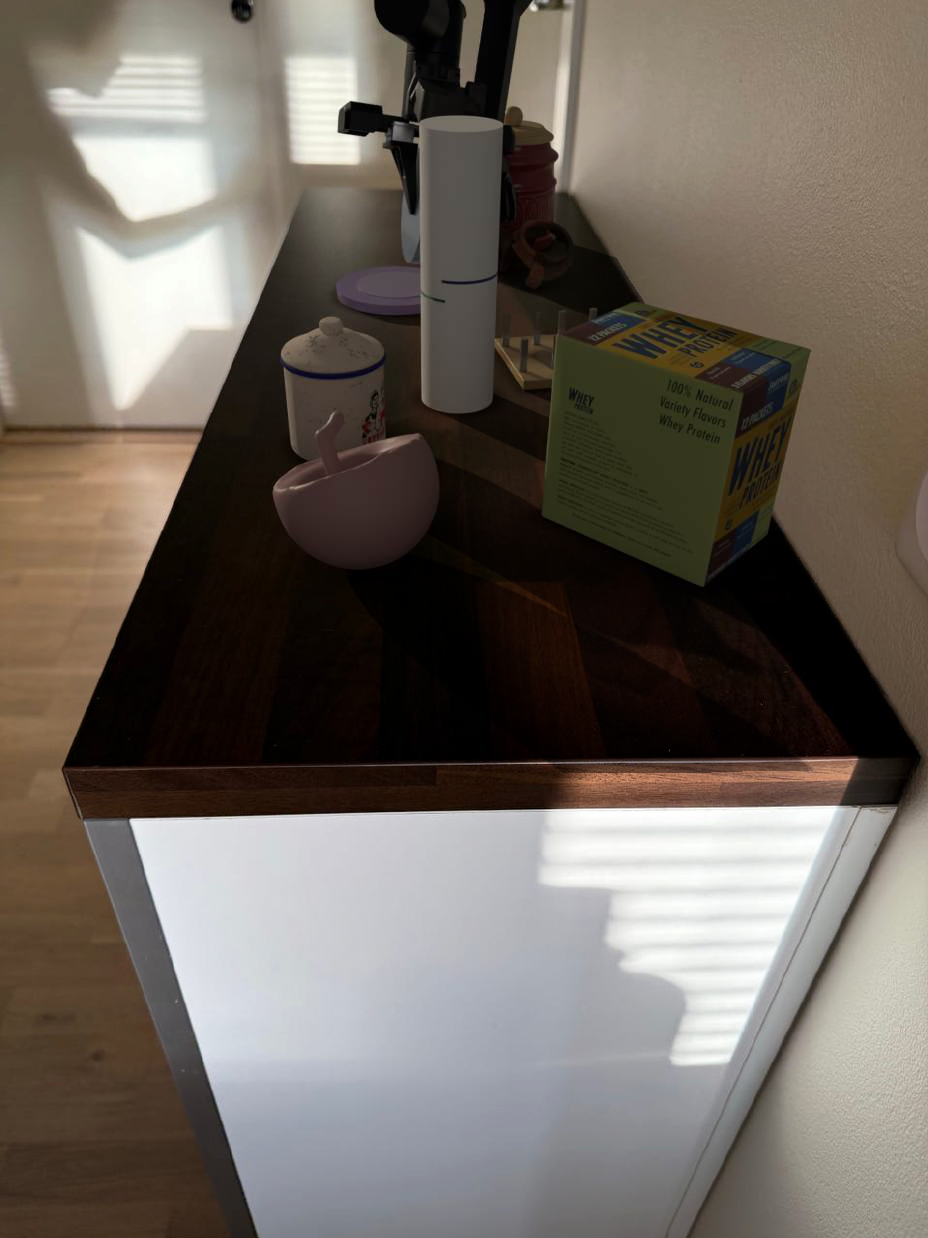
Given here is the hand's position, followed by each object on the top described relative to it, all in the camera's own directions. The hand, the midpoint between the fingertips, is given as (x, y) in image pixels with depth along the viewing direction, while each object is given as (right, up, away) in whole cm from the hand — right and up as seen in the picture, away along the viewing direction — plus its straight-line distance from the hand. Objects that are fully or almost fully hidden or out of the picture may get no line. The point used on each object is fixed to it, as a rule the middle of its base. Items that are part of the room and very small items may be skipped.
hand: (419, 215), depth 109 cm
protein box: (+20, -38, -30) cm, 52 cm away
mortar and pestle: (-3, -40, -34) cm, 53 cm away
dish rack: (+15, -18, -4) cm, 23 cm away
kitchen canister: (+11, +9, +33) cm, 36 cm away
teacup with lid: (-6, -28, -18) cm, 35 cm away
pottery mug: (+13, 0, +20) cm, 24 cm away
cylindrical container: (+4, -23, -11) cm, 26 cm away
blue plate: (0, +1, +1) cm, 1 cm away
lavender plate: (-3, -4, +14) cm, 15 cm away
